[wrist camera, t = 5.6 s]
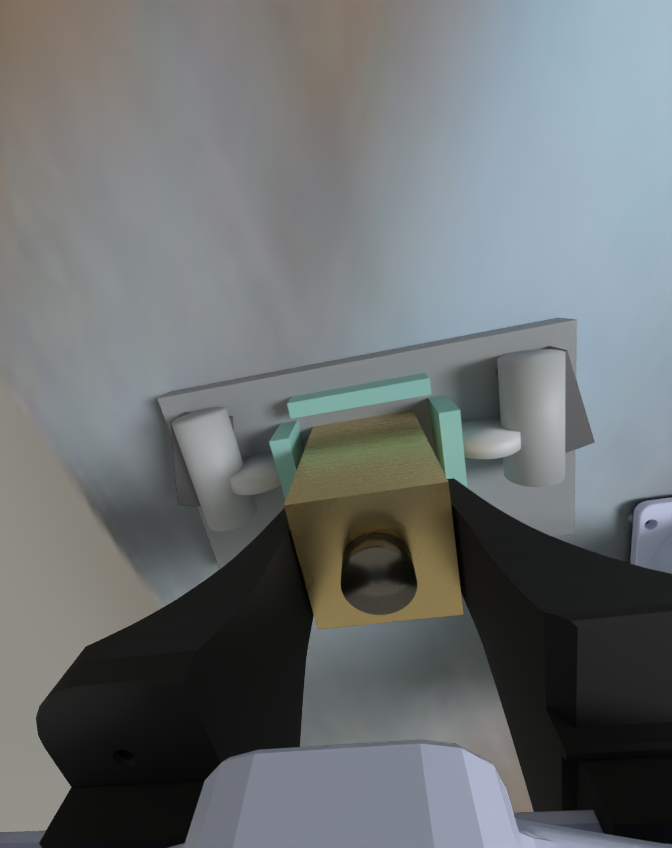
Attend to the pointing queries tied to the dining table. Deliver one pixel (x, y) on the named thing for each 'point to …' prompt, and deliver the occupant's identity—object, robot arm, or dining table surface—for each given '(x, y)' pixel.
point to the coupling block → (374, 524)
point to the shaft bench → (384, 394)
